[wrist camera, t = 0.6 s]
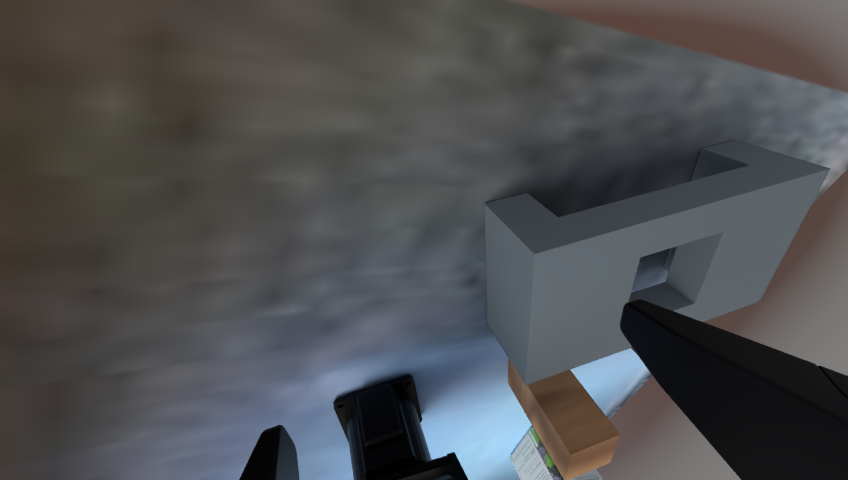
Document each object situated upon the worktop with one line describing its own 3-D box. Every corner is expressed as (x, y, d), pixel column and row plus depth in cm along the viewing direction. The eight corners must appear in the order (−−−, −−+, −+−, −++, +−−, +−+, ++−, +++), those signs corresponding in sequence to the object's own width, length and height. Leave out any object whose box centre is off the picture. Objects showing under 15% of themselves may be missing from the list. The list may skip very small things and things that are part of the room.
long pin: (545, 369, 36) (610, 462, 29) (508, 383, 35) (565, 481, 28) (548, 342, 34) (619, 434, 26) (508, 355, 33) (570, 454, 26)
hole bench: (691, 258, 33) (759, 301, 29) (487, 323, 30) (525, 385, 25) (734, 139, 27) (830, 168, 22) (484, 203, 24) (534, 254, 19)
